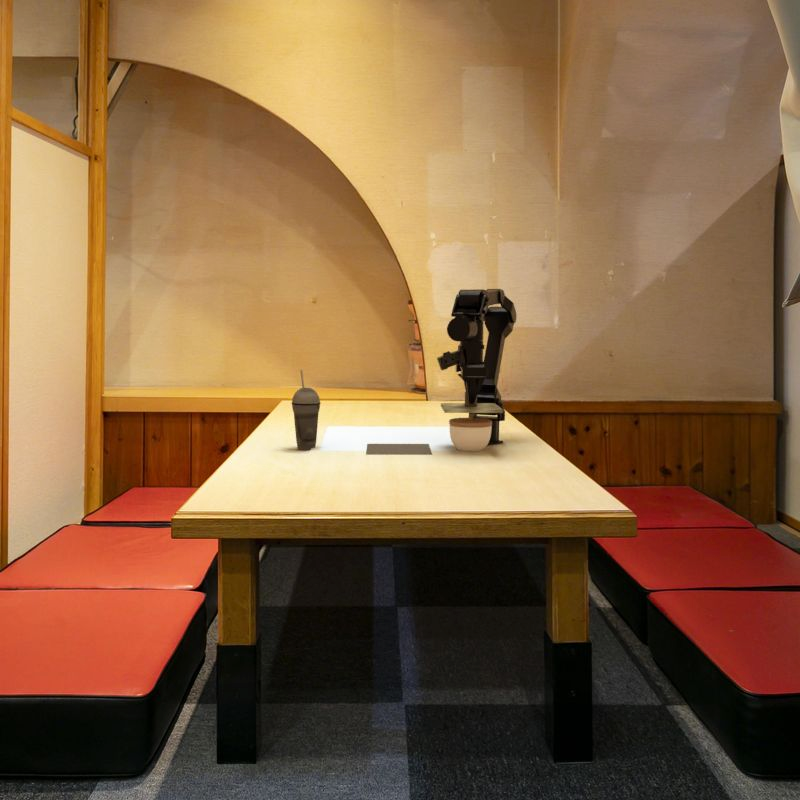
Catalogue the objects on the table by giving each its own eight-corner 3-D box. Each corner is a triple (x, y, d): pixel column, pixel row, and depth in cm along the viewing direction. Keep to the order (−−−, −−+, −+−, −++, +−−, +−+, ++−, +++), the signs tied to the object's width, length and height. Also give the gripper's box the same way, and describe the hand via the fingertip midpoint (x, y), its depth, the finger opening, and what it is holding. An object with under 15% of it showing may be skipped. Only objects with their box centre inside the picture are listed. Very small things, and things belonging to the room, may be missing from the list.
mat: (428, 445, 199) (428, 443, 199) (432, 456, 184) (432, 454, 184) (367, 445, 199) (367, 443, 199) (365, 456, 183) (365, 454, 183)
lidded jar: (463, 455, 185) (464, 417, 184) (440, 449, 194) (441, 412, 193) (500, 452, 190) (500, 415, 189) (476, 446, 199) (476, 410, 198)
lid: (494, 406, 198) (494, 389, 197) (502, 412, 184) (503, 395, 183) (440, 406, 198) (440, 389, 197) (444, 412, 184) (445, 395, 183)
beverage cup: (315, 451, 189) (315, 371, 187) (287, 450, 190) (287, 370, 188) (324, 447, 196) (324, 369, 194) (297, 445, 197) (296, 368, 195)
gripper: (436, 339, 198) (436, 399, 200) (442, 341, 179) (441, 407, 181) (479, 339, 198) (478, 399, 200) (489, 341, 180) (488, 407, 181)
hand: (470, 403), depth 191 cm, fingers closed on lid, 3 cm apart
